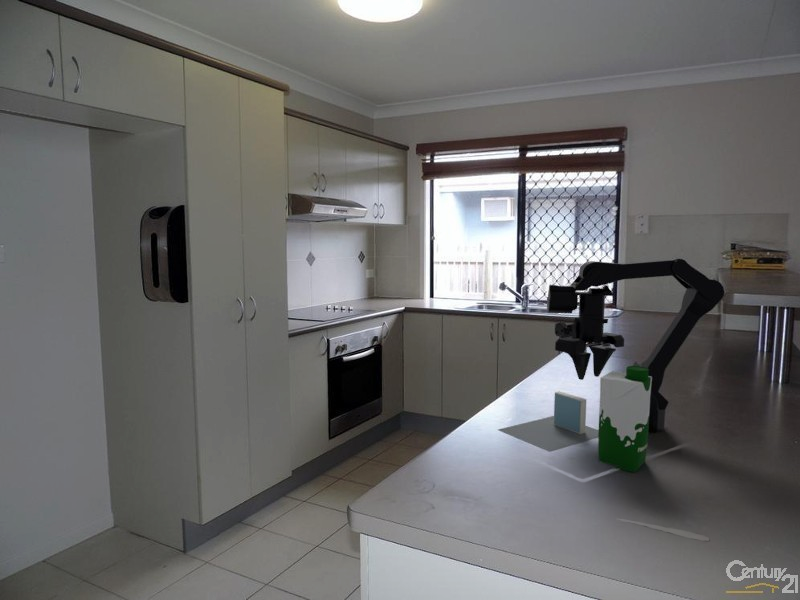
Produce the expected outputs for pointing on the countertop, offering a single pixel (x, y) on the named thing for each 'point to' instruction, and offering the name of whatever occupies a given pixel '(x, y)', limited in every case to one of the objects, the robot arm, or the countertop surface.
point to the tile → (570, 412)
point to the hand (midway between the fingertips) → (588, 377)
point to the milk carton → (624, 418)
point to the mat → (549, 434)
